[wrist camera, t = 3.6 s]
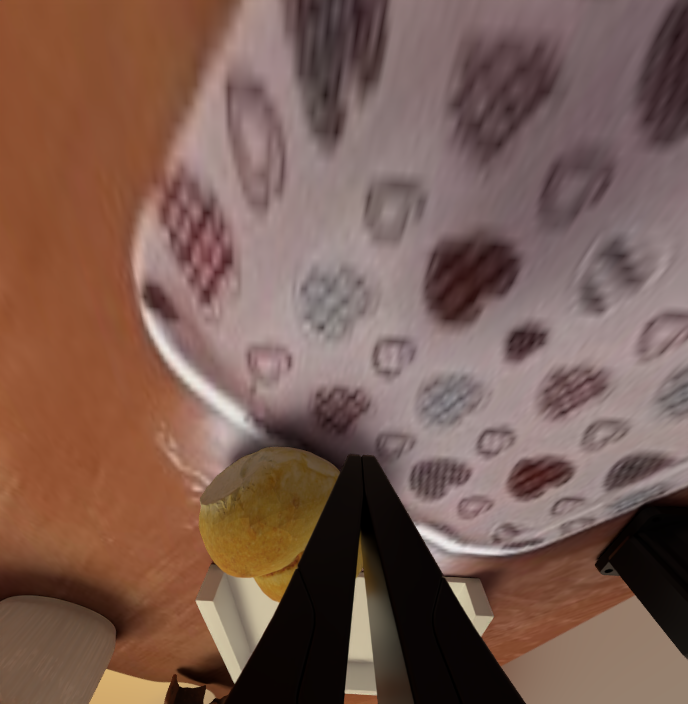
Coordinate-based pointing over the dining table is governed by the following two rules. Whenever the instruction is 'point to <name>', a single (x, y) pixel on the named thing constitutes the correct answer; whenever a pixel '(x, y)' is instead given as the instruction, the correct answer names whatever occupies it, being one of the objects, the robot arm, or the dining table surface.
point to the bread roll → (266, 514)
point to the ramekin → (51, 650)
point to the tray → (258, 609)
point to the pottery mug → (187, 694)
